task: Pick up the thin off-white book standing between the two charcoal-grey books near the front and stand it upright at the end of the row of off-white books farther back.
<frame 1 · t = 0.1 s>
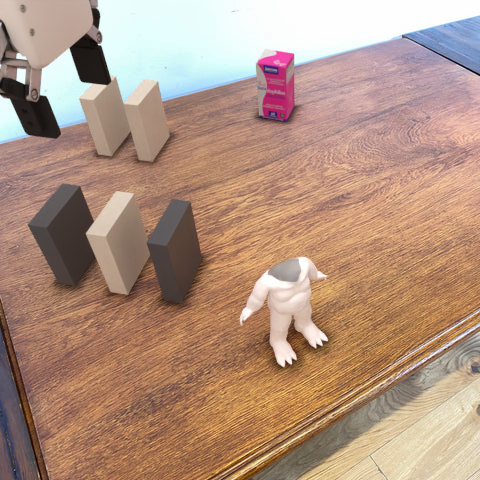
hand: (72, 107, 49), 27 cm above the table, tool pointing down, fingers open, 9 cm apart
white book 2: (154, 147, 91), on the table
grey book 1: (81, 263, 72), on the table
white book 1: (115, 142, 92), on the table
supplement box: (277, 113, 100), on the table
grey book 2: (184, 279, 70), on the table
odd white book: (132, 271, 71), on the table
toy creature: (293, 340, 64), on the table
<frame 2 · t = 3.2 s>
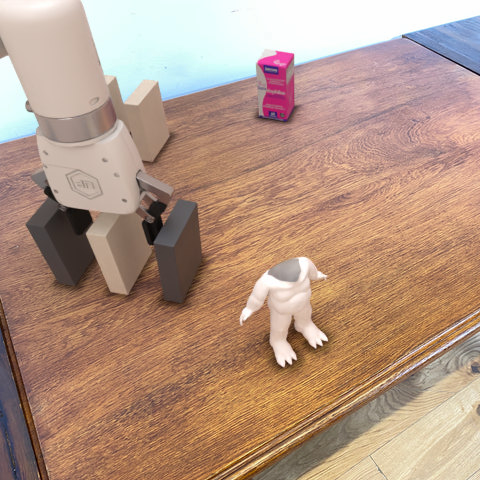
hand: (120, 232, 65), 8 cm above the table, tool pointing down, fingers open, 9 cm apart
grey book 1: (81, 263, 72), on the table, touching gripper
everything else where it was.
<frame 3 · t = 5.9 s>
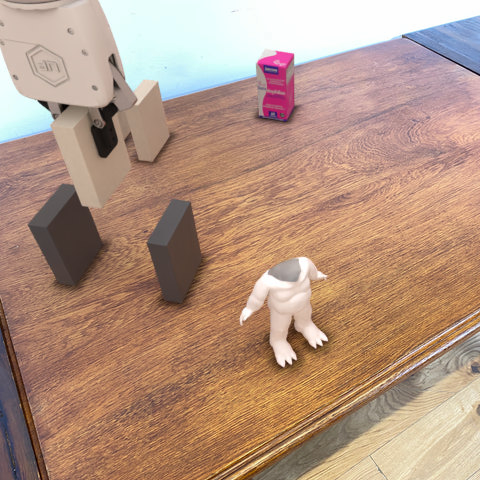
hand: (95, 147, 58), 19 cm above the table, tool pointing down, fingers closed on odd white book, 2 cm apart
grey book 1: (81, 263, 72), on the table
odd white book: (108, 186, 62), point 14 cm above the table, touching gripper
everything else where it was.
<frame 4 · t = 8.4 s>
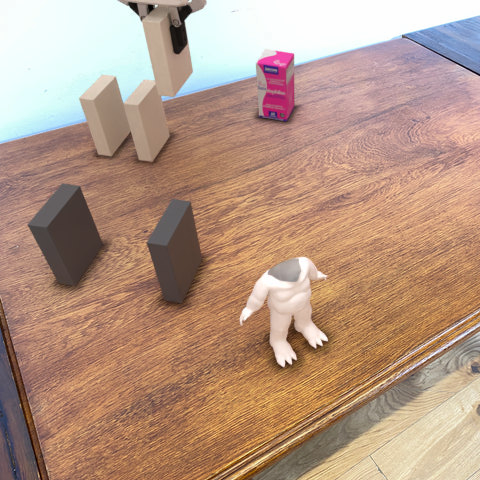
hand: (169, 48, 74), 20 cm above the table, tool pointing down, fingers closed on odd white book, 2 cm apart
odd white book: (176, 83, 78), point 15 cm above the table, touching gripper
everything else where it was.
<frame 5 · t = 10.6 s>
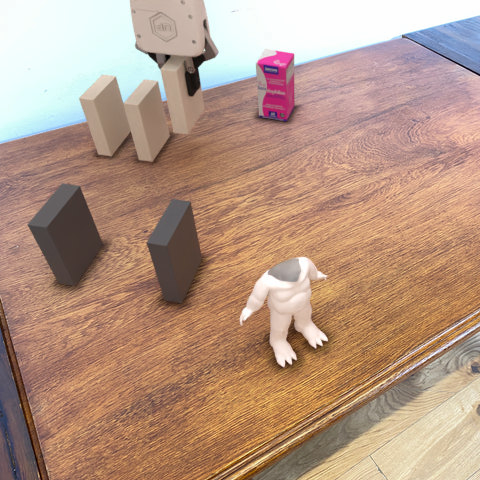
hand: (184, 90, 82), 12 cm above the table, tool pointing down, fingers closed on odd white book, 2 cm apart
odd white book: (189, 120, 86), point 7 cm above the table, touching gripper
everything else where it was.
when the fingers open (6 cm above the table, at t = 12.6 s): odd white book stays where it is, on the table.
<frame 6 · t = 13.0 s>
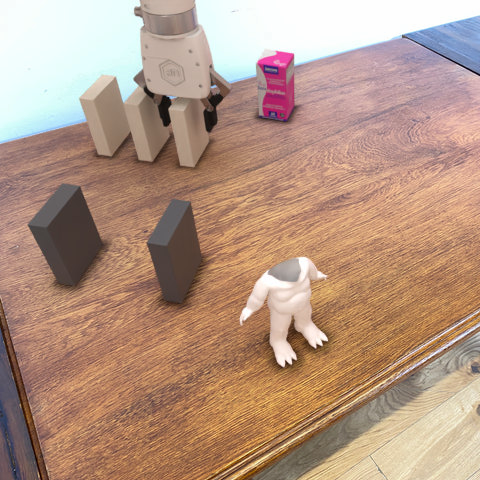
hand: (190, 124, 86), 6 cm above the table, tool pointing down, fingers open, 6 cm apart
white book 2: (154, 147, 91), on the table, touching gripper
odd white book: (195, 153, 90), on the table
everything else where it was.
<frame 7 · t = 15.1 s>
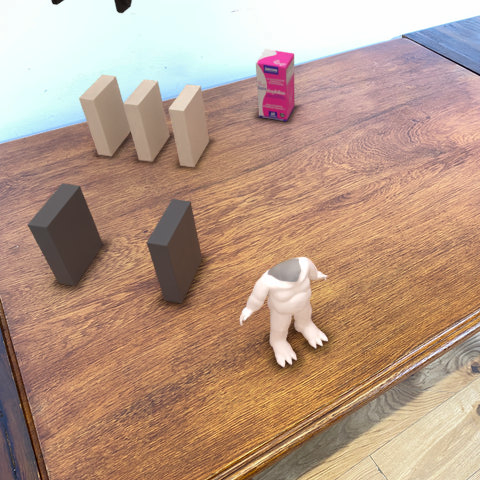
hand: (92, 5, 73), 25 cm above the table, tool pointing down, fingers open, 9 cm apart
white book 2: (154, 147, 91), on the table
everything else where it was.
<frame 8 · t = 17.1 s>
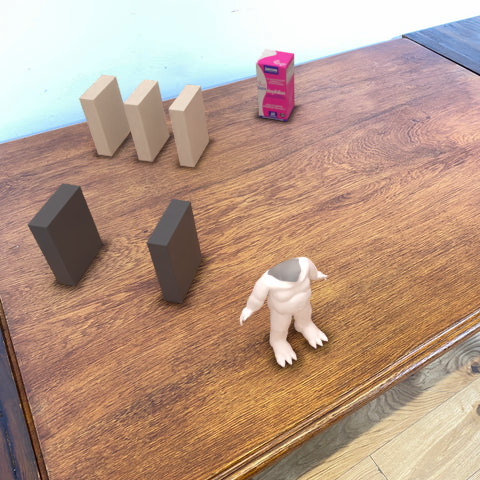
nothing on the table moved.
at the end: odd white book 0.0 cm from the target spot on the table beside the white book 1, on the table; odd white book tilted 0°; the gripper is holding nothing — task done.
